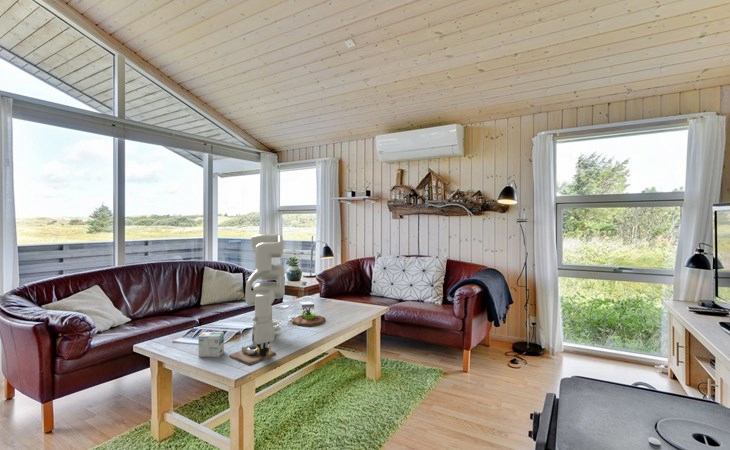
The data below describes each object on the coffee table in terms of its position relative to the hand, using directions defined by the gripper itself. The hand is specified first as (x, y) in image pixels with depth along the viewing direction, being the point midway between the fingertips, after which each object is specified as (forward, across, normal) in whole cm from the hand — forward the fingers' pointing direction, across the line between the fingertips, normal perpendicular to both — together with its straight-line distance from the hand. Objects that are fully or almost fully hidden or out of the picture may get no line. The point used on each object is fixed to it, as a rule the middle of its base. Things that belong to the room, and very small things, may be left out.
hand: (262, 355), depth 179 cm
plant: (+3, +52, +35) cm, 63 cm away
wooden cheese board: (+2, -1, +8) cm, 9 cm away
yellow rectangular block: (+1, 0, +7) cm, 7 cm away
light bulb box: (+3, -16, +24) cm, 29 cm away
